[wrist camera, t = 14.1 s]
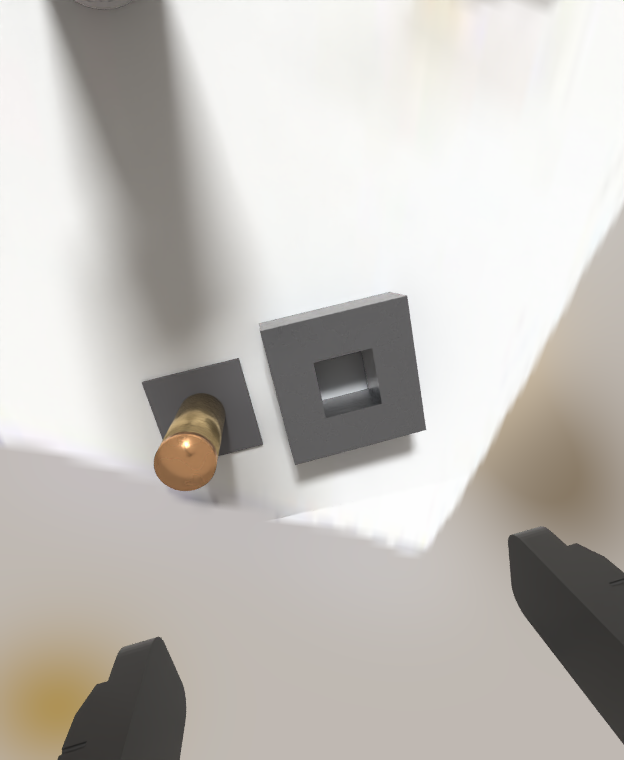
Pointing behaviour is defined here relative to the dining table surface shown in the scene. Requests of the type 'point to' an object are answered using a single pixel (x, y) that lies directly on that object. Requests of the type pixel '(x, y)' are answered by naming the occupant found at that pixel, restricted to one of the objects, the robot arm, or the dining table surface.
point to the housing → (355, 410)
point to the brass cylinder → (191, 444)
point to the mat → (219, 383)
